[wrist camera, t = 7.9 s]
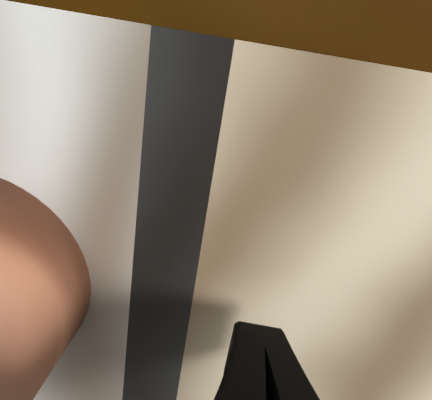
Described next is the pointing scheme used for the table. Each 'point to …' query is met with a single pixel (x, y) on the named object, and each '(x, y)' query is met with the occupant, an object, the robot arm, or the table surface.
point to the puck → (36, 291)
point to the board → (224, 203)
